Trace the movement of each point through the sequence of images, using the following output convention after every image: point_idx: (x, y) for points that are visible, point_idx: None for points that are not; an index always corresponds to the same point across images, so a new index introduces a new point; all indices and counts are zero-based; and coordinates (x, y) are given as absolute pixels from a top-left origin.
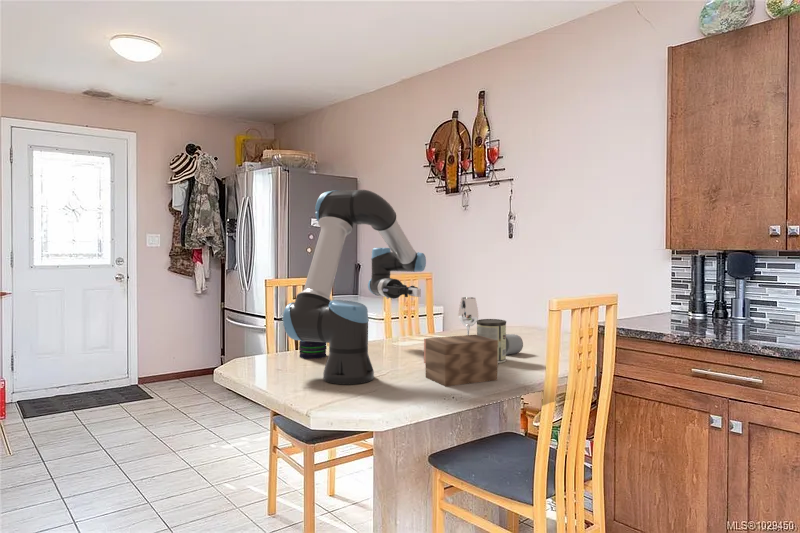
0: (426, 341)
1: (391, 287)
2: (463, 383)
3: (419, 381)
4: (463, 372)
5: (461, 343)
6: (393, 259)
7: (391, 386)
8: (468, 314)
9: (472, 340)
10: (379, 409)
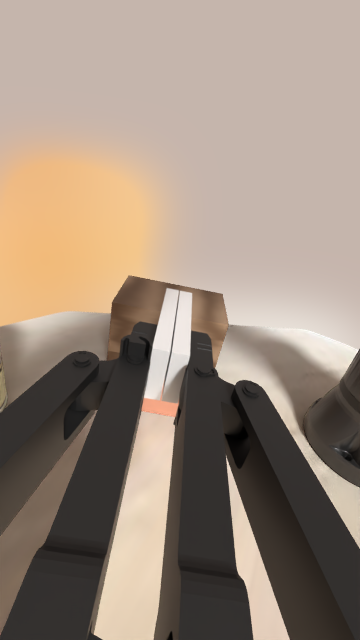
0: (226, 328)
1: (351, 538)
2: None
3: (229, 374)
4: None
5: (194, 288)
6: None
7: (279, 377)
8: None
9: (164, 288)
10: (305, 336)
